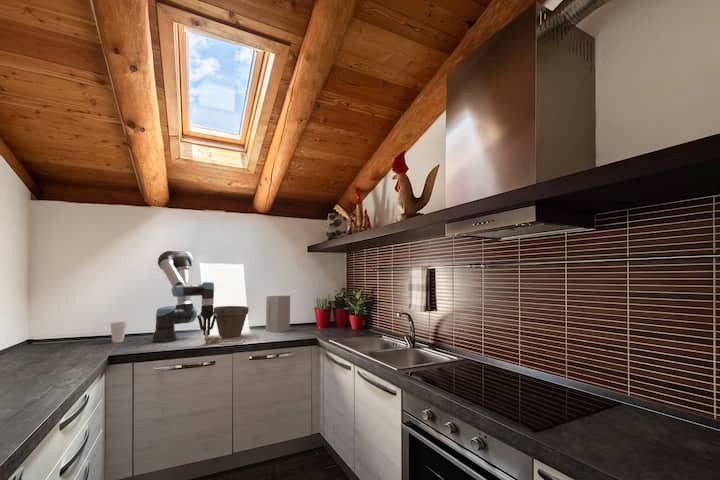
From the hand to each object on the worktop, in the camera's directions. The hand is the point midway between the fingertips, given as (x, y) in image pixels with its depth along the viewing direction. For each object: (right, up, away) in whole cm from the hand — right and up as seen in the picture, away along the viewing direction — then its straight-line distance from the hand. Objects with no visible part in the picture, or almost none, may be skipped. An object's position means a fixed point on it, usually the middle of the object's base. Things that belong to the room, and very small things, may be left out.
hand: (206, 340), depth 246 cm
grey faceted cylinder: (+37, -7, +51) cm, 64 cm away
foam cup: (-64, -3, +7) cm, 65 cm away
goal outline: (+17, -2, +2) cm, 17 cm away
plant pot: (+7, -5, +27) cm, 28 cm away
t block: (+5, -2, +1) cm, 6 cm away
